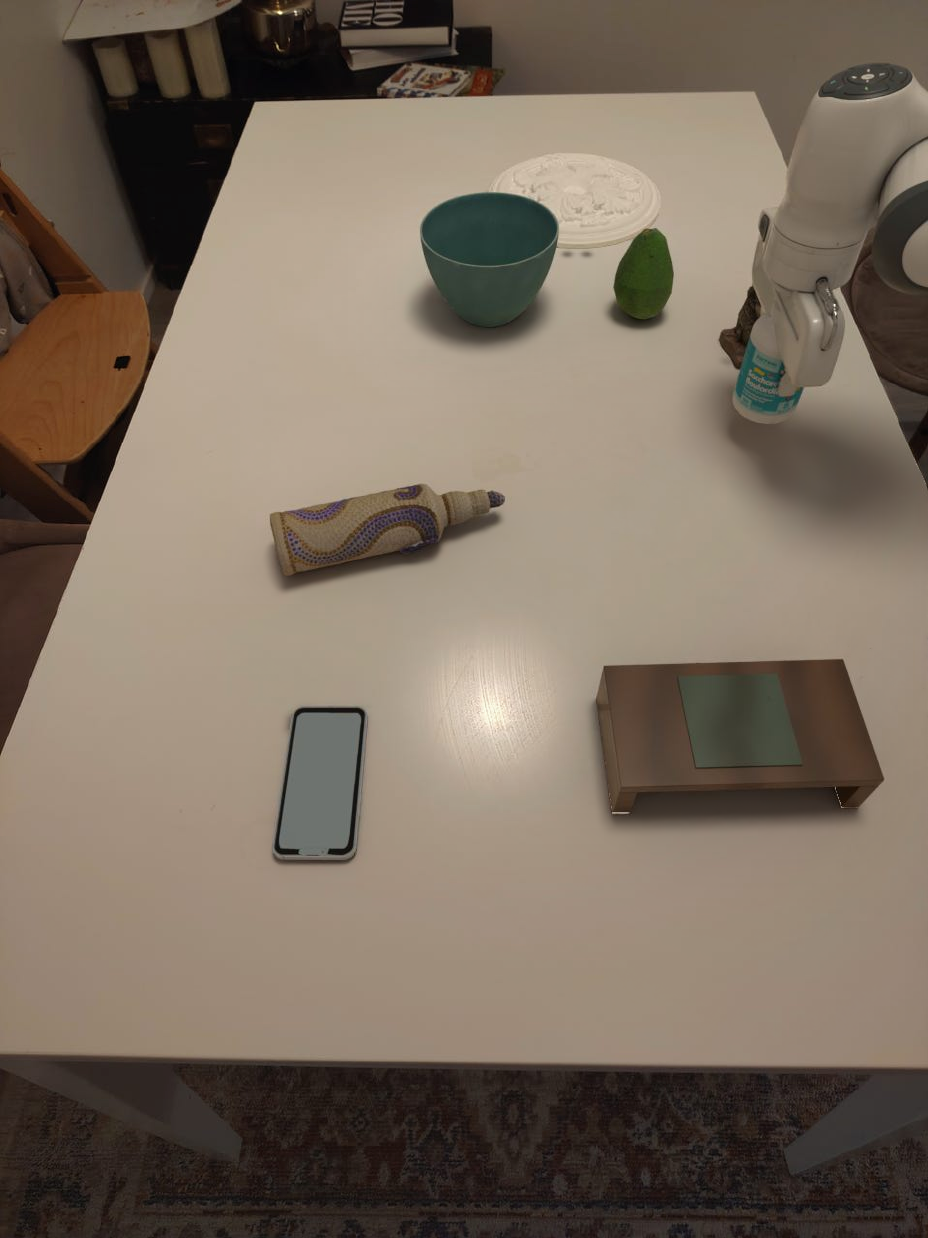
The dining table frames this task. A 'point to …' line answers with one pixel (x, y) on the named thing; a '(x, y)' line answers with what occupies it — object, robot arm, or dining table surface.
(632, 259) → the avocado
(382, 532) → the decorative bottle
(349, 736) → the smartphone
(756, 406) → the pill bottle
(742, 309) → the statue
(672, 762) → the shelf
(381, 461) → the dining table surface
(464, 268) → the plant pot
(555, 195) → the ceiling medallion
